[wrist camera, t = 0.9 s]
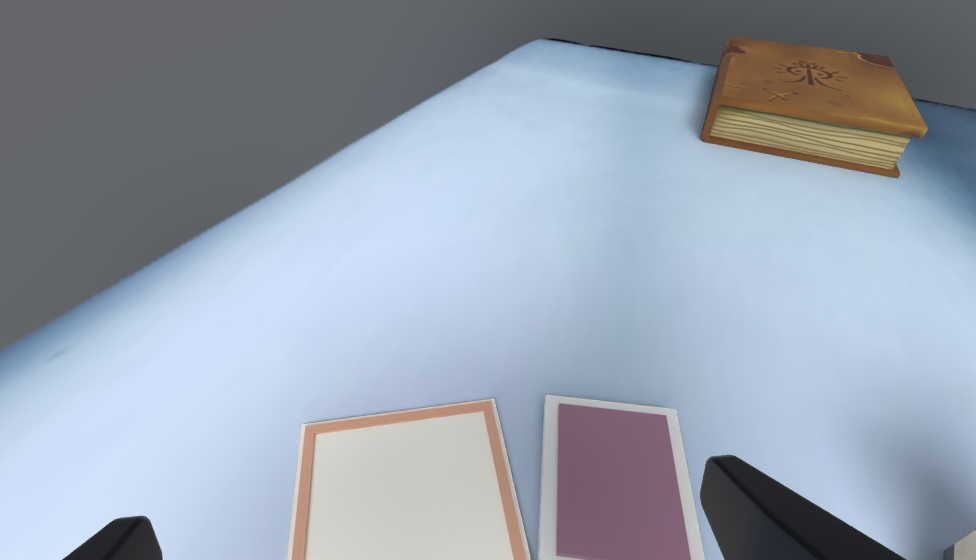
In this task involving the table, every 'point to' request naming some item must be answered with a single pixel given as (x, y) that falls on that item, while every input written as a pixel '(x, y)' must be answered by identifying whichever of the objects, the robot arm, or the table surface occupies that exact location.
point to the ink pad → (614, 484)
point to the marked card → (407, 488)
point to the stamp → (962, 549)
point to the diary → (812, 106)
